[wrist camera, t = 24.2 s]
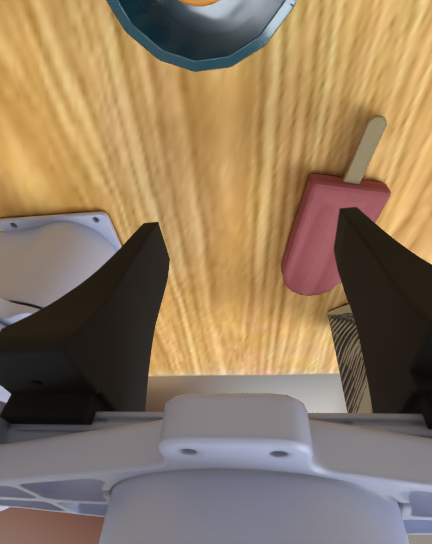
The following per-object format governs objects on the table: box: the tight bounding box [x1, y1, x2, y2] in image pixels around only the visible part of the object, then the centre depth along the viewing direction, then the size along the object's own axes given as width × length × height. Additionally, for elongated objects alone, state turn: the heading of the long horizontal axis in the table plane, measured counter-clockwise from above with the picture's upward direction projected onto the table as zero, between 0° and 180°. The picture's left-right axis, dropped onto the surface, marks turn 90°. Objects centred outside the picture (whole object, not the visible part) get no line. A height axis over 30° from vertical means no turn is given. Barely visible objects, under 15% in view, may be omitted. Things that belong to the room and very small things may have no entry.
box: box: [328, 304, 373, 413], centre depth 28 cm, size 5×4×13 cm
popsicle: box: [282, 115, 390, 296], centre depth 24 cm, size 5×2×15 cm
